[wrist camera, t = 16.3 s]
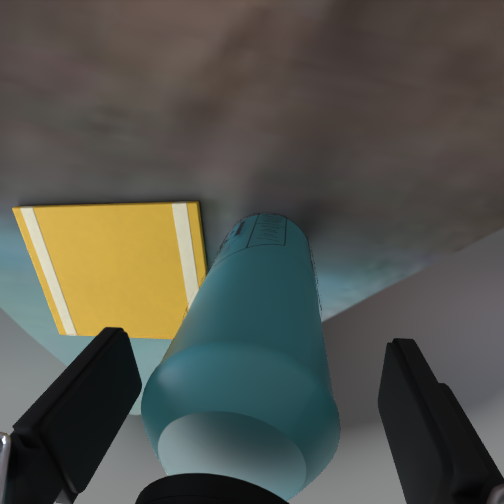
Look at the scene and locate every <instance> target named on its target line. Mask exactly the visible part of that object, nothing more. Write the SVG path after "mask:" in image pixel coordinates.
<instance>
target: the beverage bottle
mask: <svg viewBox="0 0 504 504" xmlns="http://www.w3.org/2000/svg"><path fill="white" fill-rule="evenodd" d="M257 214H258V213H257ZM273 214H275V213H273ZM273 214H260V213H259V214H258V215H254V216H251V217H249V218H248V217H247V218H246V219H245V220H242V219H241V221H240V223H239V224H238V225H237V226H236V227H235V228H234V229H233V230H232V232H231V233H230V235H229V237H228V239H227V240H226V241H223V243H224V242H225V243H224V246H223V247H222V246H220V248H219V249H221V248H222V249H221V250H220V252H219V254H218V257H217V258H216V260H215V261H214V264H213V266H212V267H211V269H210V271H209V273H208V275H207V276H206V278H205V279H204V282H202V283H203V284H201V283H200V284H201V287H200V288H199V291H198V293H197V294H196V296H195V298H194V300H193V302H192V304H191V306H190V308H189V311H187V308H186V310H185V311H187V315H186V317H185V318H184V316H183V318H184V320H182V324H181V326H180V328H179V330H178V331H177V333H176V335H175V337H174V339H173V341H172V342H171V344H170V346H169V348H168V350H167V352H166V354H165V355H164V357H163V359H162V361H161V363H160V364H159V365H158V366H157V367H156V369H155V370H154V372H153V373H152V374H151V376H150V378H149V380H148V382H147V384H146V386H145V389H144V392H143V396H142V402H141V414H142V420H143V424H144V428H145V431H146V434H147V437H148V439H149V441H150V443H151V445H152V448H153V450H154V452H155V454H156V456H157V458H158V460H159V461H160V463H161V465H162V467H163V468H164V470H165V471H166V473H167V474H168V476H167V477H164V478H161V479H159V480H156V481H155V482H152V483H151V484H149V485H148V486H147V487H145V488H144V489H143V491H142V492H141V493H140V494H139V496H138V498H137V500H136V503H135V504H289V503H288V502H286V501H288V500H289V499H291V498H292V497H294V496H295V495H296V494H298V493H299V492H300V491H302V490H303V489H304V488H305V487H306V486H308V485H309V484H310V483H311V482H312V481H313V480H314V479H315V478H316V477H317V476H318V475H319V474H320V473H321V472H322V471H323V470H324V469H325V468H326V466H327V465H328V464H329V462H330V461H331V460H332V458H333V456H334V454H335V452H336V450H337V447H338V443H339V439H340V430H341V428H340V419H339V412H338V409H337V406H336V403H335V400H334V396H333V391H332V384H331V379H330V373H329V367H328V361H327V355H326V350H325V343H324V337H323V331H322V325H321V319H320V314H319V305H318V297H319V295H317V291H318V290H317V289H316V286H317V284H315V281H316V279H317V280H318V278H316V279H315V278H314V276H315V274H314V271H313V270H314V269H313V267H312V265H313V263H312V261H311V255H310V252H311V250H310V249H309V243H308V242H307V239H308V237H307V239H306V237H305V235H304V234H303V232H302V231H301V230H300V228H299V227H298V226H297V225H296V224H294V223H293V222H292V221H290V220H288V219H287V218H284V217H285V216H284V217H281V216H282V215H281V216H278V215H279V214H278V215H273ZM238 222H239V221H238ZM228 233H229V232H228ZM227 235H228V234H227ZM226 237H227V236H226ZM225 239H226V238H225ZM225 239H224V240H225ZM223 243H222V244H223ZM310 247H311V246H310ZM217 252H218V251H217ZM216 254H217V253H216ZM312 255H313V254H312ZM215 256H216V255H215ZM313 260H314V258H313ZM211 263H212V262H211ZM314 264H315V263H314ZM210 265H211V264H210ZM210 265H209V266H210ZM209 268H210V267H208V268H207V269H208V270H209ZM314 268H315V267H314ZM208 270H207V271H208ZM315 271H316V270H315ZM205 274H206V273H205ZM316 276H317V275H316ZM316 276H315V277H316ZM203 277H204V276H203ZM201 281H202V280H201ZM201 281H200V282H201ZM317 283H318V282H317ZM319 302H320V300H319ZM188 304H189V303H188ZM187 307H188V306H187ZM320 307H321V310H322V305H320ZM184 314H185V313H184Z"/></svg>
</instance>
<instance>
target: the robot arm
mask: <svg viewBox="0 0 504 504" xmlns="http://www.w3.org/2000/svg"><path fill="white" fill-rule="evenodd" d="M141 389H142V382H141V378H140V375H139V371H138V368H137V364H136V361H135V357H134V354H133V350H132V347H131V343H130V340H129V336H128V333H127V332H125V331H124V329H123V328H121V327H105V328H104V329H103V330H102V331H101V332H100V333H99V334H98V335H97V336H96V337H95V338H94V339H93V340H92V341H91V342H90V344H89V345H88V346H87V347H86V348H85V349H84V350H83V351H82V352H81V353H80V354H79V355H78V356H77V358H76V359H75V360H74V361H73V362H72V363H71V364H70V365H69V366H68V367H67V369H65V370H64V372H63V373H62V374H61V375H60V376H59V377H58V378H57V379H56V380H55V381H54V382H53V383H52V384H51V385H50V387H49V388H48V389H47V390H46V391H45V392H44V393H43V394H42V395H41V396H40V397H39V398H38V399H37V401H36V402H35V403H34V404H33V405H32V406H31V407H30V408H29V409H28V411H26V412H25V413H24V415H23V416H22V417H21V418H20V419H19V420H18V421H17V422H16V423H15V424H14V425H13V428H14V431H13V432H12V433H11V434H10V436H9V435H8V434H7V433H3V432H0V504H53V503H54V502H55V501H56V503H62V504H73V503H74V501H75V499H76V497H77V496H78V494H79V493H81V492H83V491H84V490H85V488H86V487H87V485H88V484H89V482H90V480H91V478H92V477H93V475H94V473H95V471H96V470H97V468H98V466H99V464H100V463H101V461H102V459H103V457H104V455H105V454H106V452H107V450H108V449H109V447H110V445H111V443H112V441H113V440H114V438H115V436H116V435H117V433H118V431H119V429H120V428H121V426H122V424H123V422H124V420H125V419H126V417H127V415H128V414H129V412H130V410H131V408H132V407H133V405H134V403H135V401H136V399H137V398H138V396H139V394H140V392H141ZM378 408H379V413H380V416H381V419H382V423H383V426H384V429H385V432H386V436H387V439H388V443H389V446H390V449H391V453H392V456H393V459H394V463H395V466H396V469H397V473H398V476H399V479H400V483H401V486H402V489H403V493H404V496H405V500H406V503H407V504H504V478H503V476H502V475H501V473H500V471H499V470H498V468H497V466H496V465H495V463H494V461H493V460H492V458H491V456H490V455H489V453H488V451H487V449H486V448H485V446H484V444H483V443H482V441H481V439H480V438H479V436H478V435H477V433H476V431H475V429H474V428H473V426H472V424H471V423H470V421H469V419H468V417H467V416H466V414H465V412H464V411H463V409H462V407H461V406H460V404H459V402H458V401H457V399H456V397H455V396H454V394H453V392H452V391H451V389H450V388H449V387H448V386H447V385H446V384H444V383H438V381H437V379H436V378H435V376H434V374H433V373H432V371H431V369H430V367H429V365H428V363H427V362H426V360H425V358H424V357H423V354H422V353H421V351H420V349H419V347H418V346H417V344H416V342H415V341H414V340H413V339H400V338H395V339H393V341H392V343H387V346H386V353H385V359H384V365H383V371H382V377H381V383H380V389H379V396H378Z"/></svg>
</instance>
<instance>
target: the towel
mask: <svg viewBox="0 0 504 504" xmlns="http://www.w3.org/2000/svg"><path fill="white" fill-rule="evenodd" d="M12 209H13V212H14V215H15V217H16V220H17V223H18V225H19V228H20V230H21V233H22V236H23V238H24V241H25V244H26V246H27V249H28V252H29V254H30V257H31V260H32V262H33V265H34V267H35V270H36V273H37V275H38V278H39V281H40V283H41V286H42V289H43V291H44V294H45V297H46V299H47V302H48V304H49V307H50V310H51V312H52V315H53V318H54V320H55V323H56V326H57V328H58V331H59V334H60V335H75V336H77V335H81V336H97V335H98V334H99V333H100V332H101V331H102V330H103V329H104V328H105V327H121V328H123V329H124V331H125V332H127V333H128V336H129V337H131V338H156V339H174V337H175V335H176V333H177V331H178V330H179V328H180V326H181V324H182V320H184V318H185V317H186V315H187V311H189V308H190V306H191V304H192V302H193V300H194V298H195V296H196V294H197V293H198V291H199V288H200V287H201V284H203V283H202V282H204V279H205V278H206V276H207V275H208V271H207V262H206V254H205V246H204V238H203V230H202V222H201V214H200V206H199V201H190V202H154V203H118V204H83V205H47V206H17V207H13V208H12ZM205 273H206V274H205ZM203 276H204V277H203ZM201 280H202V281H201ZM200 281H201V282H200ZM200 283H201V284H200ZM188 303H189V304H188ZM187 306H188V307H187ZM186 308H187V311H185V310H186ZM184 313H185V314H184ZM183 316H184V318H183Z"/></svg>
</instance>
